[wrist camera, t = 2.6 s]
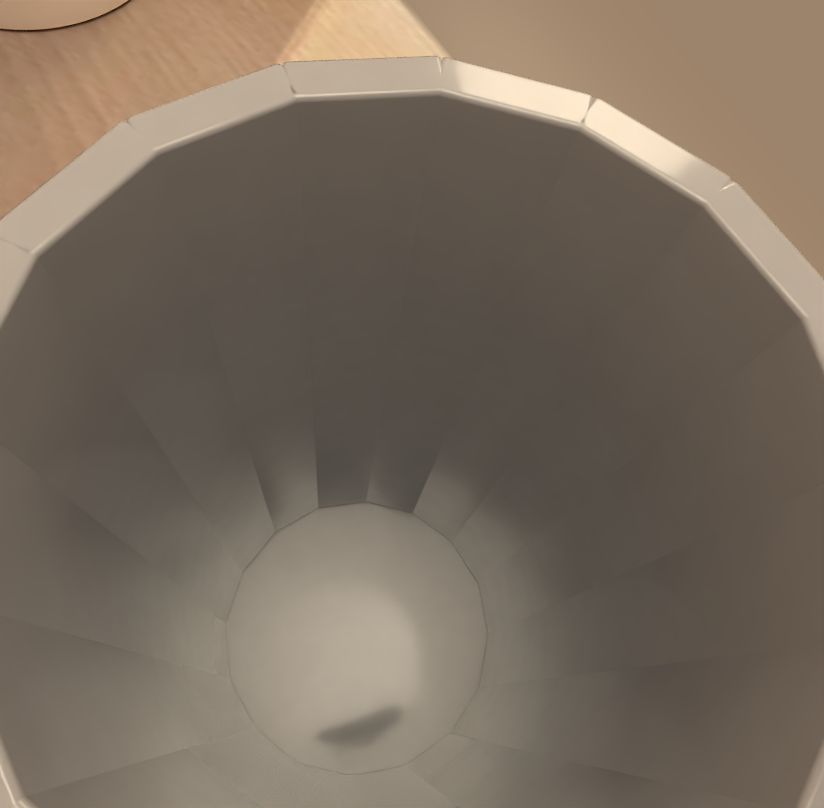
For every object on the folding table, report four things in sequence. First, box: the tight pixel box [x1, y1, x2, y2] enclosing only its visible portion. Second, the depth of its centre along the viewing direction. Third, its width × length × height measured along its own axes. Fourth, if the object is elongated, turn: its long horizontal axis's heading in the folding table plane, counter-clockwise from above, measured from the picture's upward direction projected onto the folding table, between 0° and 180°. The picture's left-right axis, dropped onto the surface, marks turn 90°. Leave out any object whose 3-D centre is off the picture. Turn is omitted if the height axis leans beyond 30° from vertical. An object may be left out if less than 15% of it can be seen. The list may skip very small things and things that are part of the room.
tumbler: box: [0, 56, 824, 808], centre depth 11 cm, size 6×6×13 cm
